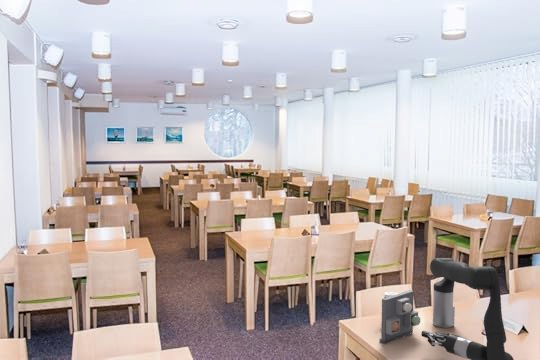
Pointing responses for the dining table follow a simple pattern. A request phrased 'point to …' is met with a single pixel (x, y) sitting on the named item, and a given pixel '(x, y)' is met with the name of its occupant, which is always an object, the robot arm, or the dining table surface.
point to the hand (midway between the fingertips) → (422, 333)
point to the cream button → (406, 307)
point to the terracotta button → (395, 326)
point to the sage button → (415, 320)
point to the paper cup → (389, 294)
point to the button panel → (396, 316)
